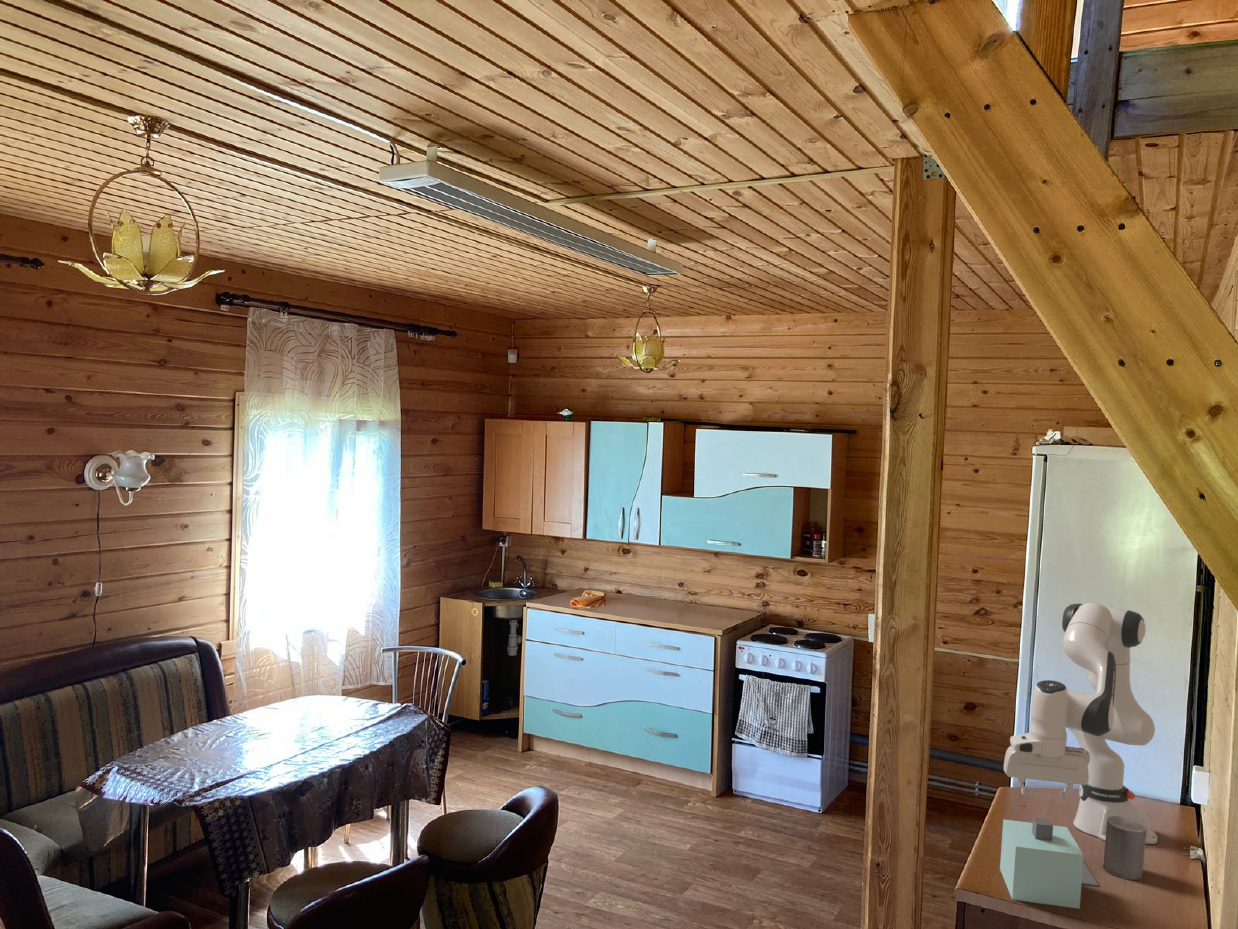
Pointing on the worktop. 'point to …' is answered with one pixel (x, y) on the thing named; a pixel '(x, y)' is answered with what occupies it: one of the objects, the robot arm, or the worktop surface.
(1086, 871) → the mat
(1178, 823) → the worktop surface
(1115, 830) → the pillar candle
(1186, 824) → the worktop surface
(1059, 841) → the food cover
